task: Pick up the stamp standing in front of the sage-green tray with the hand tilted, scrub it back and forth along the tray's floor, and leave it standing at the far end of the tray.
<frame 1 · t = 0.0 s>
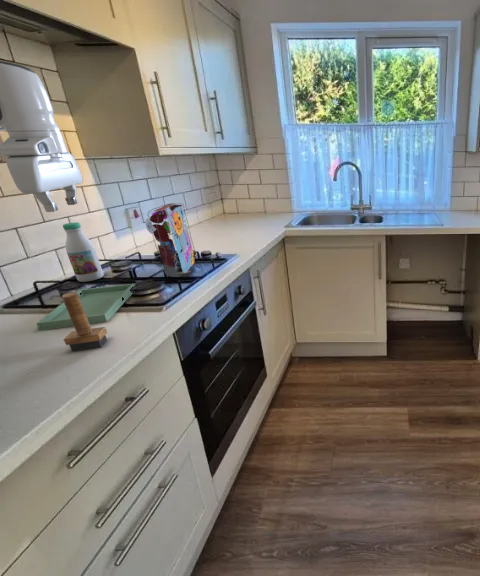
hand: (63, 207, 86), 31 cm above the countertop, tool pointing down, fingers open, 8 cm apart
tray: (93, 307, 107), on the countertop
box: (178, 278, 129), on the countertop
stamp: (90, 345, 87), on the countertop
milk bottle: (91, 278, 130), on the countertop
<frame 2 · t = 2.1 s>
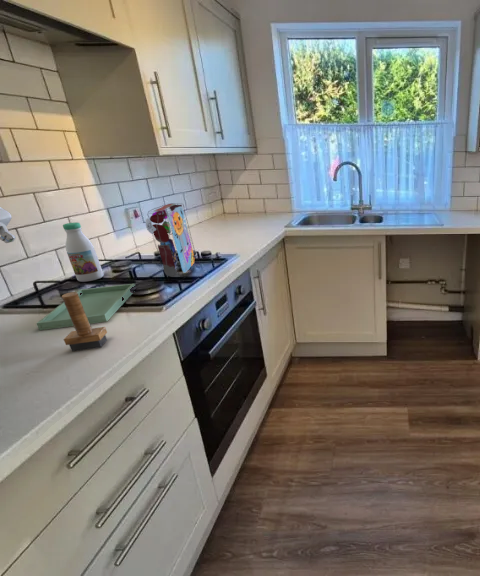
nothing on the countertop moved.
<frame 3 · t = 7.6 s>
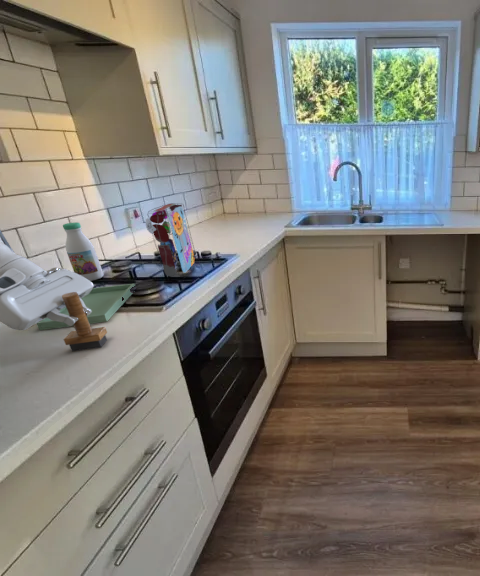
hand: (81, 318, 84), 7 cm above the countertop, tool tilted 45°, fingers closed on stamp, 3 cm apart
stamp: (90, 345, 87), on the countertop, touching gripper
everything else where it was.
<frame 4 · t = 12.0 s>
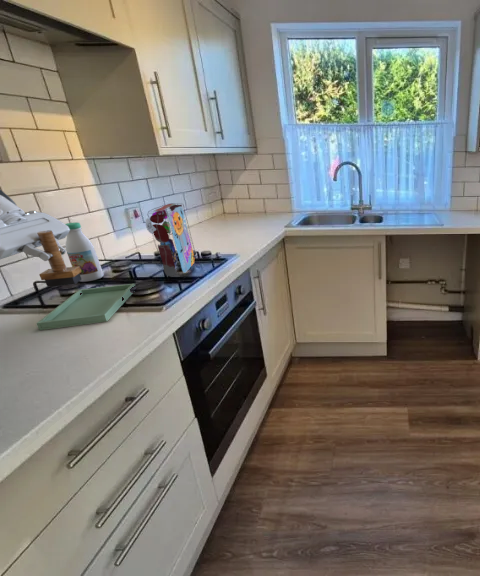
hand: (56, 255, 91), 19 cm above the countertop, tool tilted 45°, fingers closed on stamp, 3 cm apart
stamp: (64, 283, 93), point 12 cm above the countertop, touching gripper
everything else where it was.
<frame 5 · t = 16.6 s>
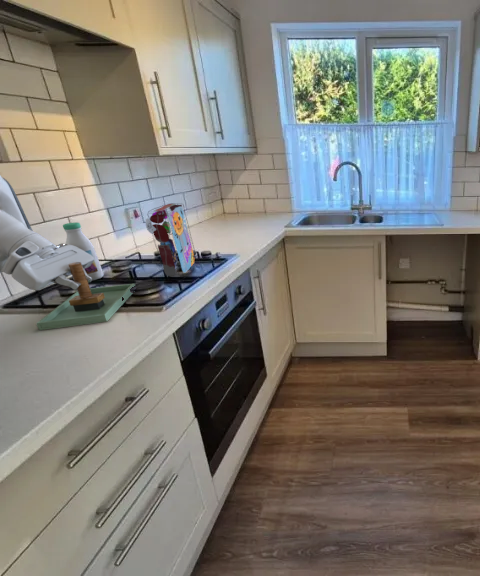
hand: (84, 284, 103), 8 cm above the countertop, tool tilted 45°, fingers closed on stamp, 3 cm apart
stamp: (90, 308, 105), point 1 cm above the countertop, touching gripper, tray
everything else where it was.
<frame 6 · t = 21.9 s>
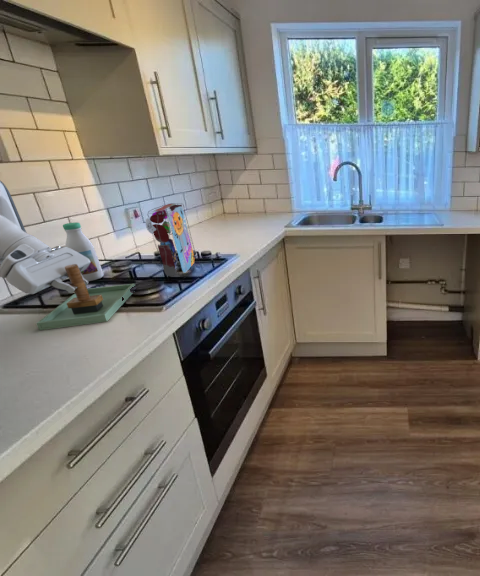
hand: (80, 287, 101), 8 cm above the countertop, tool tilted 45°, fingers closed on stamp, 3 cm apart
stamp: (88, 310, 104), point 1 cm above the countertop, touching gripper
everything else where it was.
when the fingers open (8 cm above the countertop, at t = 26.0 s): stamp stays where it is, resting on tray.
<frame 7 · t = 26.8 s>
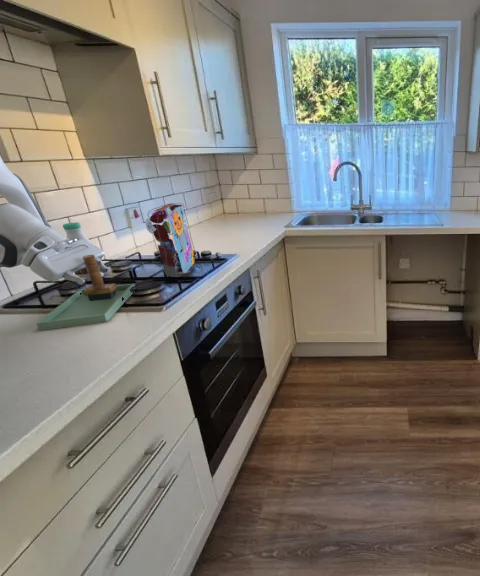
hand: (96, 276, 110), 8 cm above the countertop, tool tilted 45°, fingers open, 8 cm apart
stamp: (103, 297, 112), point 1 cm above the countertop, touching tray
everything else where it was.
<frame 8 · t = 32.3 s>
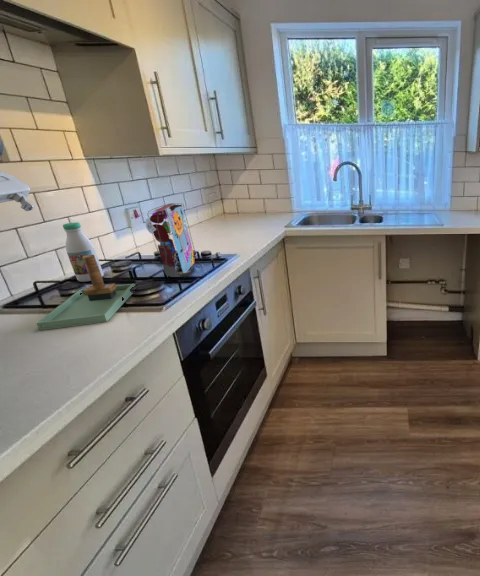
hand: (14, 212, 91), 29 cm above the countertop, tool tilted 45°, fingers open, 8 cm apart
nothing on the countertop moved.
at the end: stamp inside the target area in the tray (0.6 cm from its centre), point 0.6 cm above the tray's base; stamp tilted 0°; stamp moved 32.0 cm from its start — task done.
